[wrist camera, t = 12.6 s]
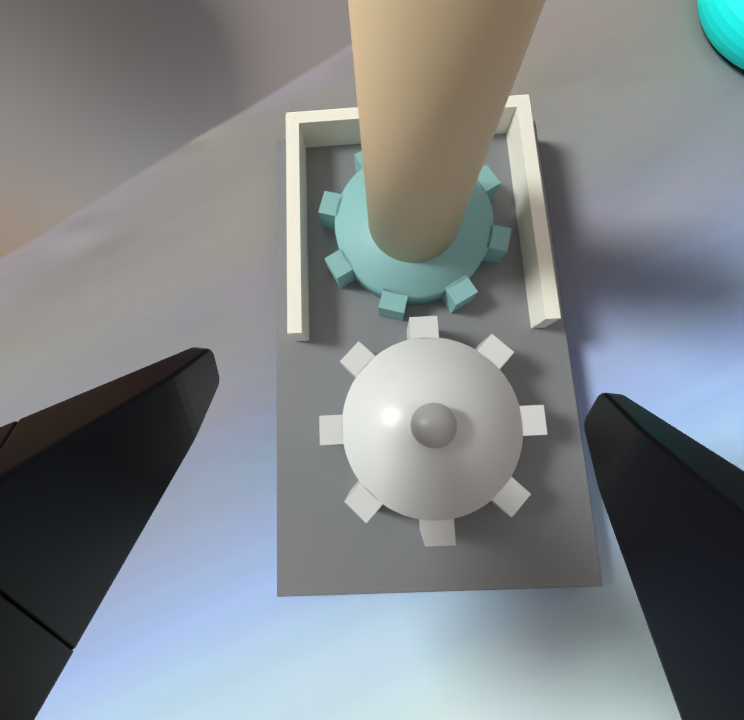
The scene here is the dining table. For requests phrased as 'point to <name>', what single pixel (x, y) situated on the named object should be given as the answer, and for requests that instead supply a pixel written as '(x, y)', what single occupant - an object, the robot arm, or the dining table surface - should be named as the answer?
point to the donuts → (724, 27)
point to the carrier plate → (326, 469)
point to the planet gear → (426, 147)
